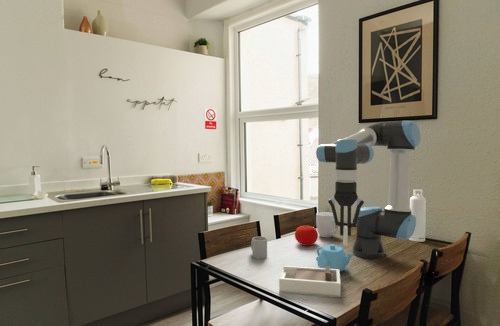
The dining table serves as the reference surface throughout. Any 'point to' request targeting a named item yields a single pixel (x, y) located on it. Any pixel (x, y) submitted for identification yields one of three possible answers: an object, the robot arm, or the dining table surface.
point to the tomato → (306, 235)
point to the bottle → (418, 215)
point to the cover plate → (315, 275)
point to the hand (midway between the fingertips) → (345, 244)
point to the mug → (325, 224)
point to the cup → (259, 247)
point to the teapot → (333, 257)
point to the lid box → (309, 283)
